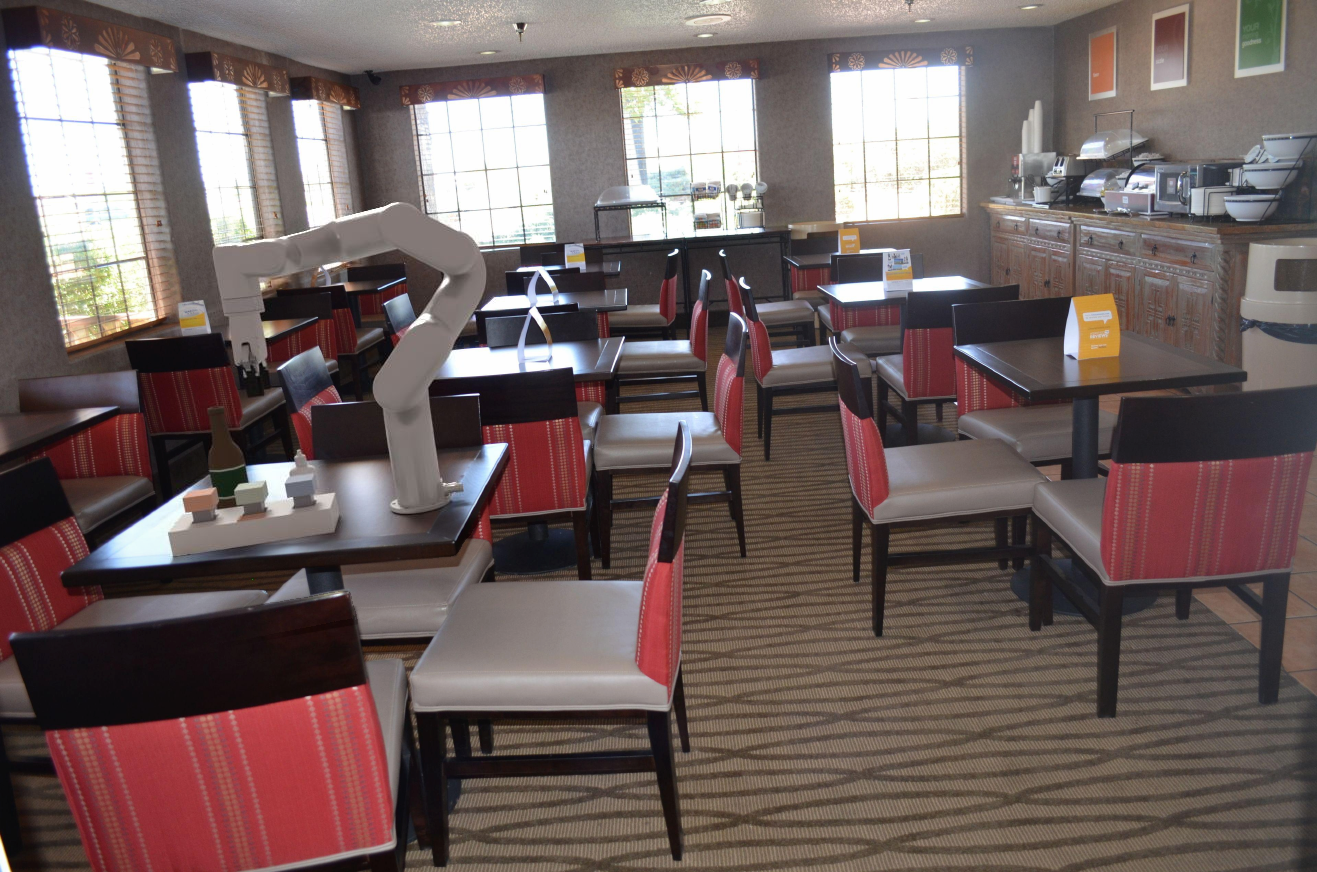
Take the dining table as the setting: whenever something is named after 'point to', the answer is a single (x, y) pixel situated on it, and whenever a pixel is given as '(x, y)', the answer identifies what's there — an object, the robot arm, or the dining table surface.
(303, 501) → the slate button
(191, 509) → the terracotta button
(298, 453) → the eye dropper bottle
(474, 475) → the dining table surface
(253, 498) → the sage button
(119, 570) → the dining table surface
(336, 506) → the console
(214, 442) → the beer bottle
